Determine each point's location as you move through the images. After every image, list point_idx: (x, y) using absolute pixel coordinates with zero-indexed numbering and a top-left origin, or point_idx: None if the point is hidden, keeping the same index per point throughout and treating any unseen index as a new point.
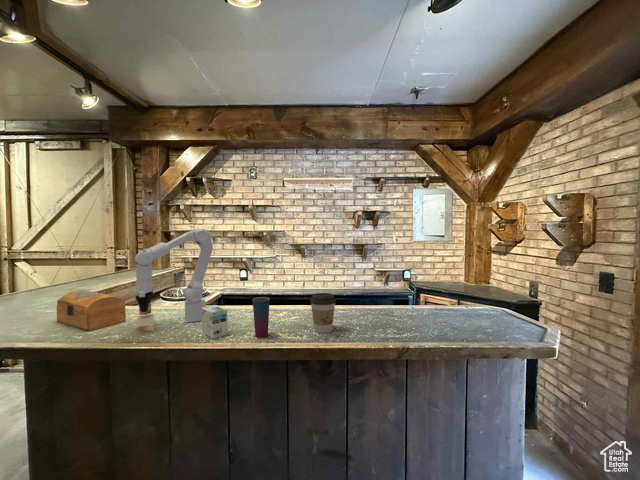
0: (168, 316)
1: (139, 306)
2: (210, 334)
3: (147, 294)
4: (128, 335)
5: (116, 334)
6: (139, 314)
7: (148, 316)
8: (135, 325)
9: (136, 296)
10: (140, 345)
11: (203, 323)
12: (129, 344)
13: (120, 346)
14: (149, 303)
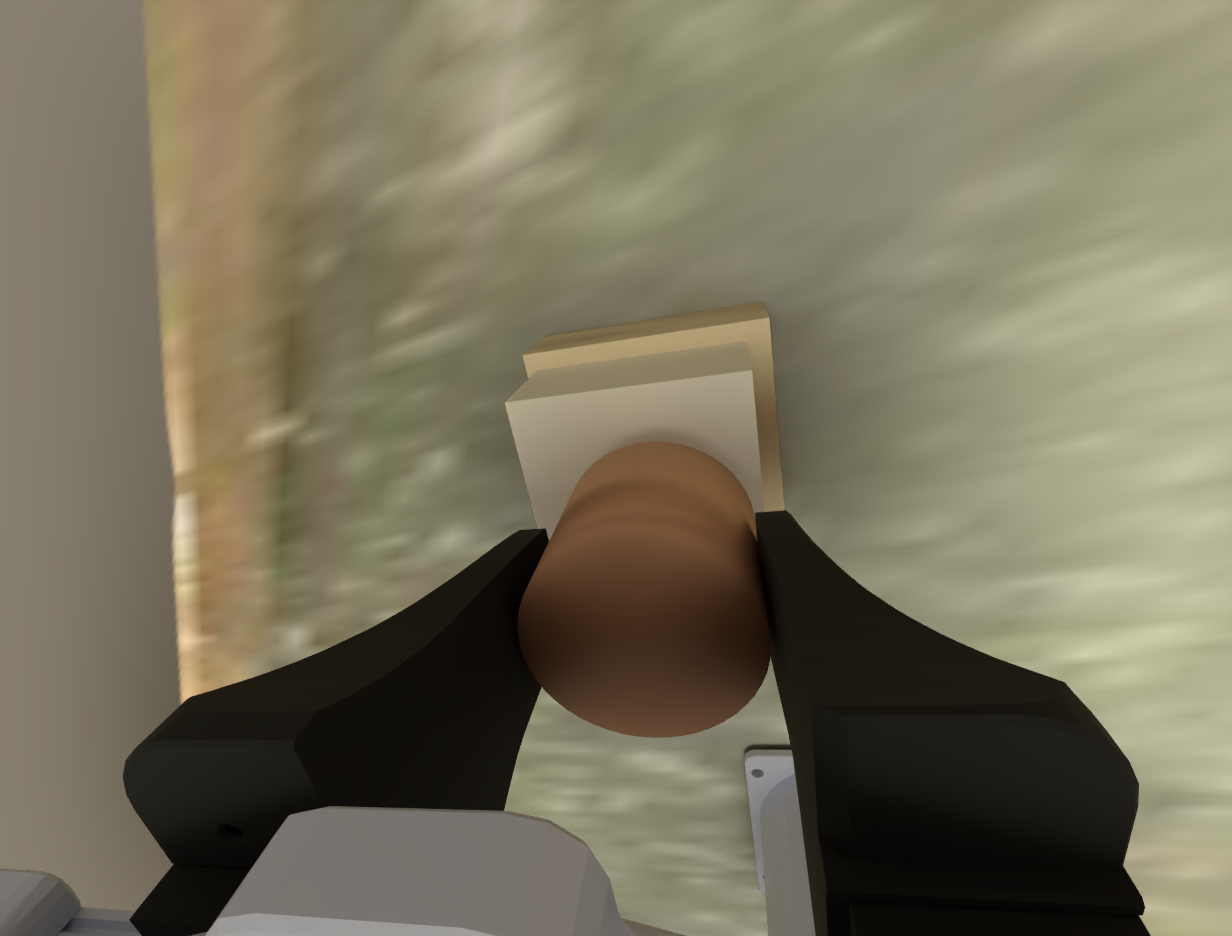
0: (1199, 583)
1: (564, 542)
2: None
3: (820, 916)
4: (496, 288)
5: (574, 94)
6: (606, 455)
7: None
8: (616, 345)
9: (177, 774)
10: (214, 495)
11: None
12: (235, 396)
13: (189, 328)
14: (706, 709)
